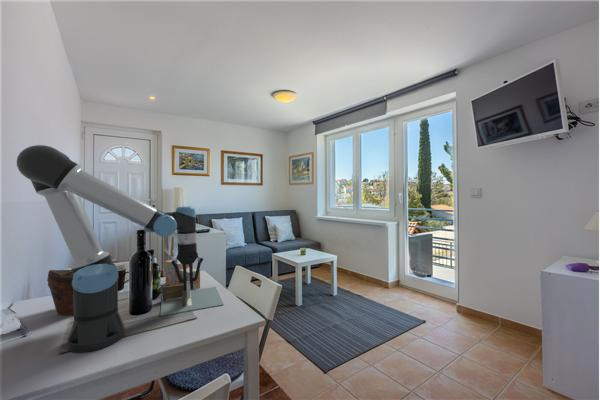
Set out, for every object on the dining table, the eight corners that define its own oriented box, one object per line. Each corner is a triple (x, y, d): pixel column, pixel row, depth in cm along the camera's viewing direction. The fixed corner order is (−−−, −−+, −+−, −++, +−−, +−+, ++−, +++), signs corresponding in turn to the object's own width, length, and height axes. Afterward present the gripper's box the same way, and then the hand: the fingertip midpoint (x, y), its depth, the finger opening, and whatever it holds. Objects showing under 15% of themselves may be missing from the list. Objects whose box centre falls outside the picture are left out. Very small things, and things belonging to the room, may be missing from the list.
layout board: (223, 305, 117) (223, 304, 117) (160, 316, 106) (160, 315, 106) (215, 287, 138) (215, 286, 138) (162, 295, 128) (162, 294, 128)
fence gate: (182, 306, 114) (182, 292, 114) (186, 296, 124) (186, 283, 124) (185, 305, 114) (185, 291, 114) (189, 296, 125) (189, 283, 124)
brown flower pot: (117, 299, 123) (115, 259, 123) (77, 320, 103) (74, 273, 103) (81, 298, 125) (79, 259, 124) (34, 319, 105) (32, 273, 105)
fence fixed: (190, 297, 125) (190, 282, 125) (162, 301, 120) (162, 285, 120) (190, 296, 127) (190, 280, 126) (162, 300, 122) (162, 284, 122)
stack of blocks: (200, 287, 138) (200, 263, 138) (189, 291, 133) (189, 266, 133) (176, 280, 150) (175, 258, 150) (165, 283, 145) (164, 260, 145)
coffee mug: (101, 290, 135) (101, 270, 134) (119, 285, 142) (119, 266, 142) (116, 294, 130) (115, 273, 129) (134, 288, 137) (133, 268, 137)
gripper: (169, 245, 111) (171, 302, 112) (203, 243, 115) (204, 298, 116) (171, 242, 118) (173, 296, 119) (203, 240, 123) (204, 292, 124)
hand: (188, 297), depth 118 cm, fingers closed
